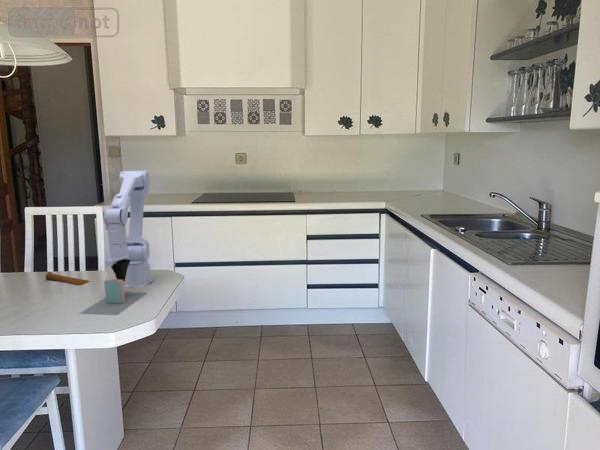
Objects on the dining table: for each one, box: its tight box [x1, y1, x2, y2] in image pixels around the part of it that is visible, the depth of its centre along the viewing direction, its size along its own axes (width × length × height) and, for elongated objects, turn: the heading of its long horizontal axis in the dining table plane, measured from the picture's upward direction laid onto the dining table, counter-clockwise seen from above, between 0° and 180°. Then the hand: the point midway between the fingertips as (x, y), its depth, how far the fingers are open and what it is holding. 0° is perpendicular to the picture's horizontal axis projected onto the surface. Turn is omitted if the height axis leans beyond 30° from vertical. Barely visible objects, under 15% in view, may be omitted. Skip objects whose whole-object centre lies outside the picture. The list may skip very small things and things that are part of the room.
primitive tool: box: [45, 271, 90, 286], centre depth 179 cm, size 19×6×4 cm, turn 73°
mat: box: [79, 291, 148, 316], centre depth 153 cm, size 21×13×1 cm, turn 173°
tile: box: [103, 278, 125, 304], centre depth 152 cm, size 2×6×8 cm, turn 83°
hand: (121, 281), depth 157 cm, fingers closed
